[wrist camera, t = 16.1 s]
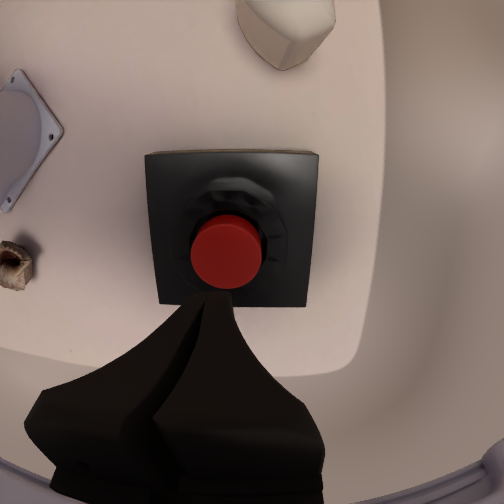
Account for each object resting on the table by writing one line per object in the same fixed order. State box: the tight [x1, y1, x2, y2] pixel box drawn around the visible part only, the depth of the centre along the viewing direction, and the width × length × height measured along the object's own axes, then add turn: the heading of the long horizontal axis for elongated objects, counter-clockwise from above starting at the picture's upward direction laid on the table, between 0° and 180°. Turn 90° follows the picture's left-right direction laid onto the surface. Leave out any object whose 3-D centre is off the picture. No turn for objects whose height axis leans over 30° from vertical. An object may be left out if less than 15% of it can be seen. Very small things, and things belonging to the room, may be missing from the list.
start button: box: [191, 214, 262, 289], centre depth 16 cm, size 4×4×2 cm
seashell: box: [0, 241, 32, 291], centre depth 20 cm, size 4×8×4 cm
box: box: [145, 149, 319, 307], centre depth 19 cm, size 10×10×4 cm
